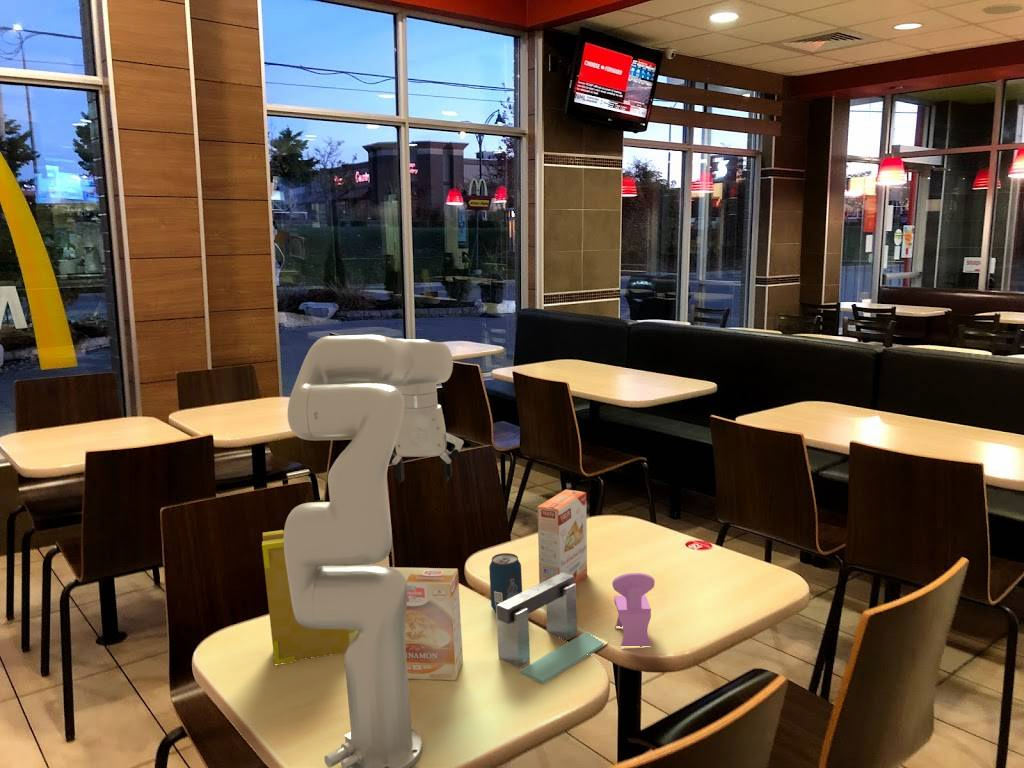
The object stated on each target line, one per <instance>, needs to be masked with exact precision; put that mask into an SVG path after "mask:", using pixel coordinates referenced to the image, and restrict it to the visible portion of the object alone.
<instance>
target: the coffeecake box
mask: <svg viewBox="0 0 1024 768" xmlns="http://www.w3.org/2000/svg"><path fill="white" fill-rule="evenodd" d="M390 567H391V568H394V569H396V570H398V571H399V572H401V573H402V574H403V576H404V577H405V579H406V582H407V589H408V595H407V608H406V619H405V645H406V661H407V674H408V680H437V681H438V680H439V681H456V680H457V678H458V675H459V672H460V670H461V668H462V664H463V662H464V658H463V657H464V654H463V639H462V636H463V635H462V620H461V603H460V585H459V584H460V583H459V569H458V568H443V567H442V568H440V567H438V568H437V567H436V568H435V567H434V568H433V567H431V568H430V567H395V566H390Z"/></svg>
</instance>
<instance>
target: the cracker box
mask: <svg viewBox="0 0 1024 768" xmlns="http://www.w3.org/2000/svg"><path fill="white" fill-rule="evenodd" d="M587 518H588V517H587V492H585V491H579V490H573V489H564V490H562V491H561V492H559V493H558V494H556V495H554V496H553V497H551V498H550V499H548V500H546V501H544V502H542V503H541V504H539V505H538V506H537V534H538V536H537V538H538V541H537V543H538V577H539V581H538V584H540V583H542V582H544V581H546V580H548V579H550V578H552V577H554V576H556V575H558V574H560V573H562V572H563V573H566V574H569V575H572V576H574V584H576V585H577V583H579V582H580V581H581V580H582V579H583V578H584V577H586V576H587V575H588V543H587V542H588V540H587V539H588V536H587V534H588V531H587V529H588V527H587V520H588V519H587Z"/></svg>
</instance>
